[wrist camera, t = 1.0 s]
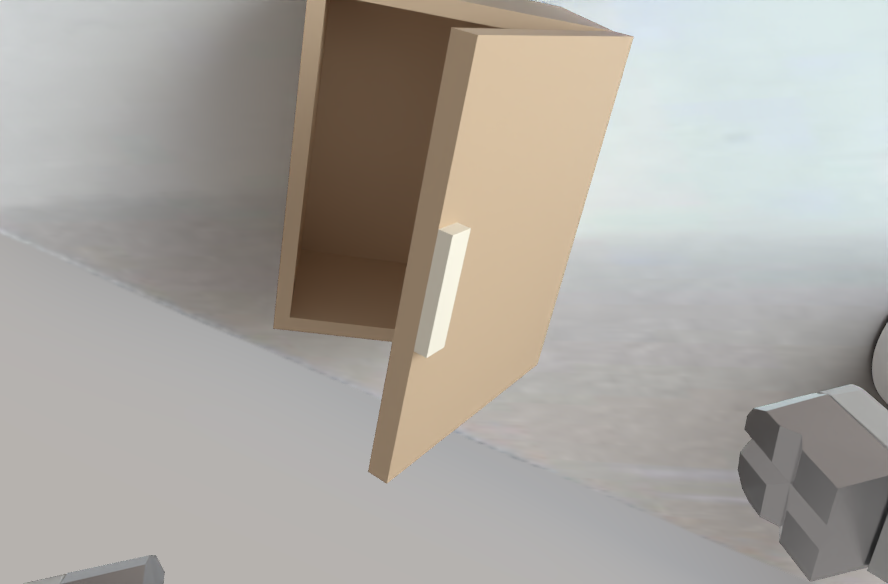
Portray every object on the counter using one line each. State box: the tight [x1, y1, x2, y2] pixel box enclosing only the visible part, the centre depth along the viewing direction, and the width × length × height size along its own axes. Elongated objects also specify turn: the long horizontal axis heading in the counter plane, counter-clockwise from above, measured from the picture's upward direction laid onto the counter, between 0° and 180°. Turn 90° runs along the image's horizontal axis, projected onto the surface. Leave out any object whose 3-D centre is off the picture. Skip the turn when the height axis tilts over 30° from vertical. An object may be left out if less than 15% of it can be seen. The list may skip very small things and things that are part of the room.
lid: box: [368, 27, 633, 483], centre depth 32 cm, size 14×18×2 cm
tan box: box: [273, 0, 612, 342], centre depth 41 cm, size 14×18×10 cm
